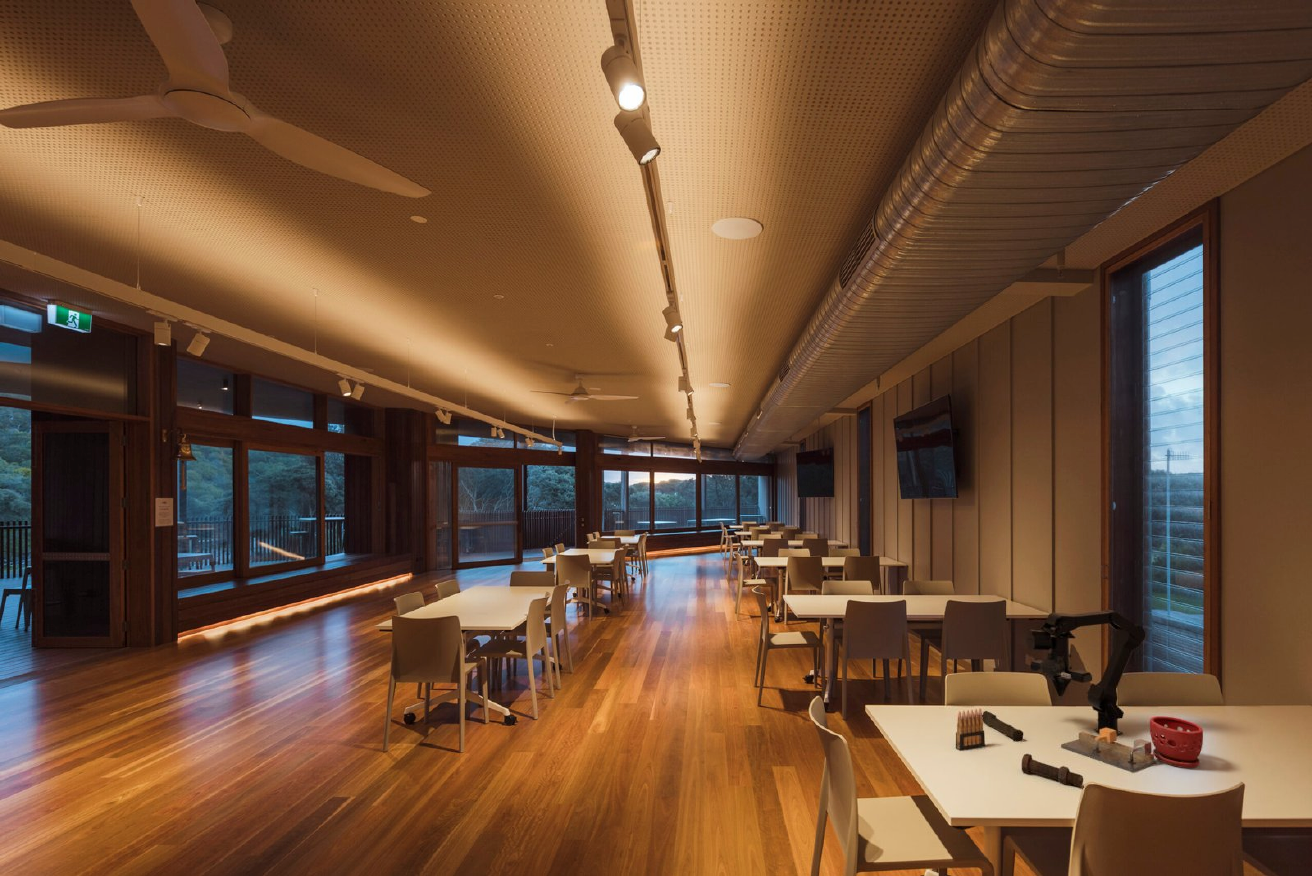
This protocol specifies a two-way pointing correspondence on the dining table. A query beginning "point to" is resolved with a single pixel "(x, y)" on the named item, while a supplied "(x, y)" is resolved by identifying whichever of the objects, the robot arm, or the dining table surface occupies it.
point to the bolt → (1051, 771)
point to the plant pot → (1176, 741)
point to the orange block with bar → (1106, 736)
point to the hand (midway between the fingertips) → (1060, 696)
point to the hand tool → (1002, 726)
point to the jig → (1114, 752)
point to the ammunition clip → (970, 730)
